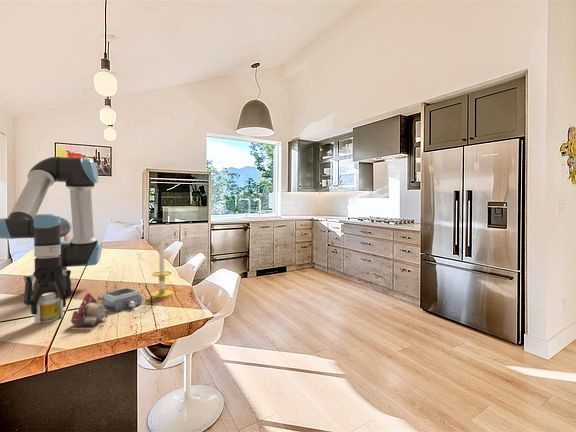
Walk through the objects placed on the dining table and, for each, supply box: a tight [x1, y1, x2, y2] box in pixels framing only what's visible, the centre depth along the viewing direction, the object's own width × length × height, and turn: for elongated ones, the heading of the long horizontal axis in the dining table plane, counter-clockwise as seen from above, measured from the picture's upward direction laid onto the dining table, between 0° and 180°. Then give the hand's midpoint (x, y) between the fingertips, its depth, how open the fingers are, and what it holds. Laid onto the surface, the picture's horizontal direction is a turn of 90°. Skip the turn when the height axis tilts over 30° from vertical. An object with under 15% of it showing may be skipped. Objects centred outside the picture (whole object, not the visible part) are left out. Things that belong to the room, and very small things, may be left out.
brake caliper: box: [70, 292, 110, 331], centre depth 106 cm, size 11×11×12 cm
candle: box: [150, 238, 174, 298], centre depth 141 cm, size 10×10×27 cm
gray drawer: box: [100, 286, 143, 313], centre depth 125 cm, size 15×11×6 cm
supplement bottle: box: [38, 292, 59, 323], centre depth 109 cm, size 5×5×10 cm
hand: (49, 319), depth 109 cm, fingers open, 6 cm apart
